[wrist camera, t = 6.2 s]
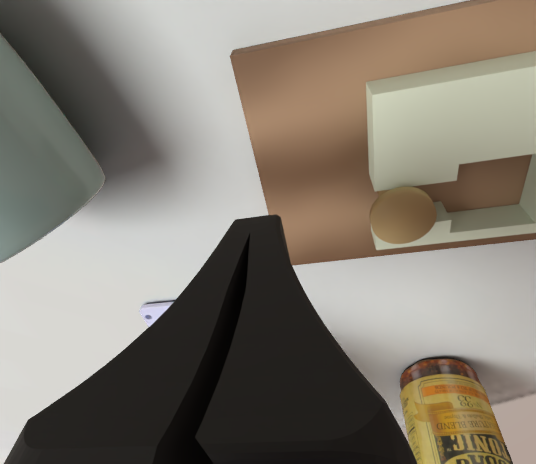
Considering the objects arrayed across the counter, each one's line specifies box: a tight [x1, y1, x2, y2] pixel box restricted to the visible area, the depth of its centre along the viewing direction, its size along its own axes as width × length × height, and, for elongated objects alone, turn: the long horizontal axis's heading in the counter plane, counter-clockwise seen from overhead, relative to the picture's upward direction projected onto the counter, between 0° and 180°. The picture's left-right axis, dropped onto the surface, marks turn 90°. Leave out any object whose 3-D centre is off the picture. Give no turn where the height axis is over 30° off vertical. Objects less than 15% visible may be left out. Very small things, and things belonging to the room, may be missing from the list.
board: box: [230, 0, 536, 265], centre depth 16 cm, size 12×23×4 cm, turn 101°
